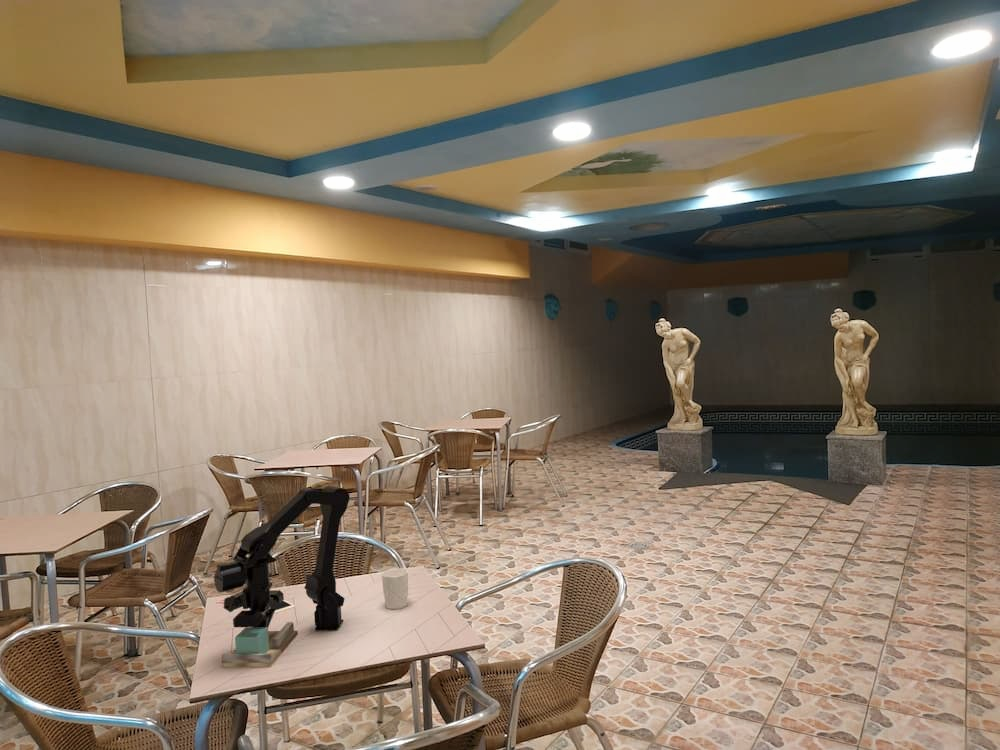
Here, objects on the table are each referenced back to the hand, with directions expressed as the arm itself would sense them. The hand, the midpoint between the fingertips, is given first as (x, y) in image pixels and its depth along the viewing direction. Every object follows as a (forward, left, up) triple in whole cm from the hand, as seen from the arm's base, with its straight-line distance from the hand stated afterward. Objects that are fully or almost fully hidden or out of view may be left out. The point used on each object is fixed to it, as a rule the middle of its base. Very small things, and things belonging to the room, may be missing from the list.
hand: (261, 640), depth 183 cm
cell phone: (+10, -32, -3) cm, 34 cm away
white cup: (-30, -29, -3) cm, 42 cm away
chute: (0, 0, -3) cm, 3 cm away
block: (0, +6, -2) cm, 6 cm away
